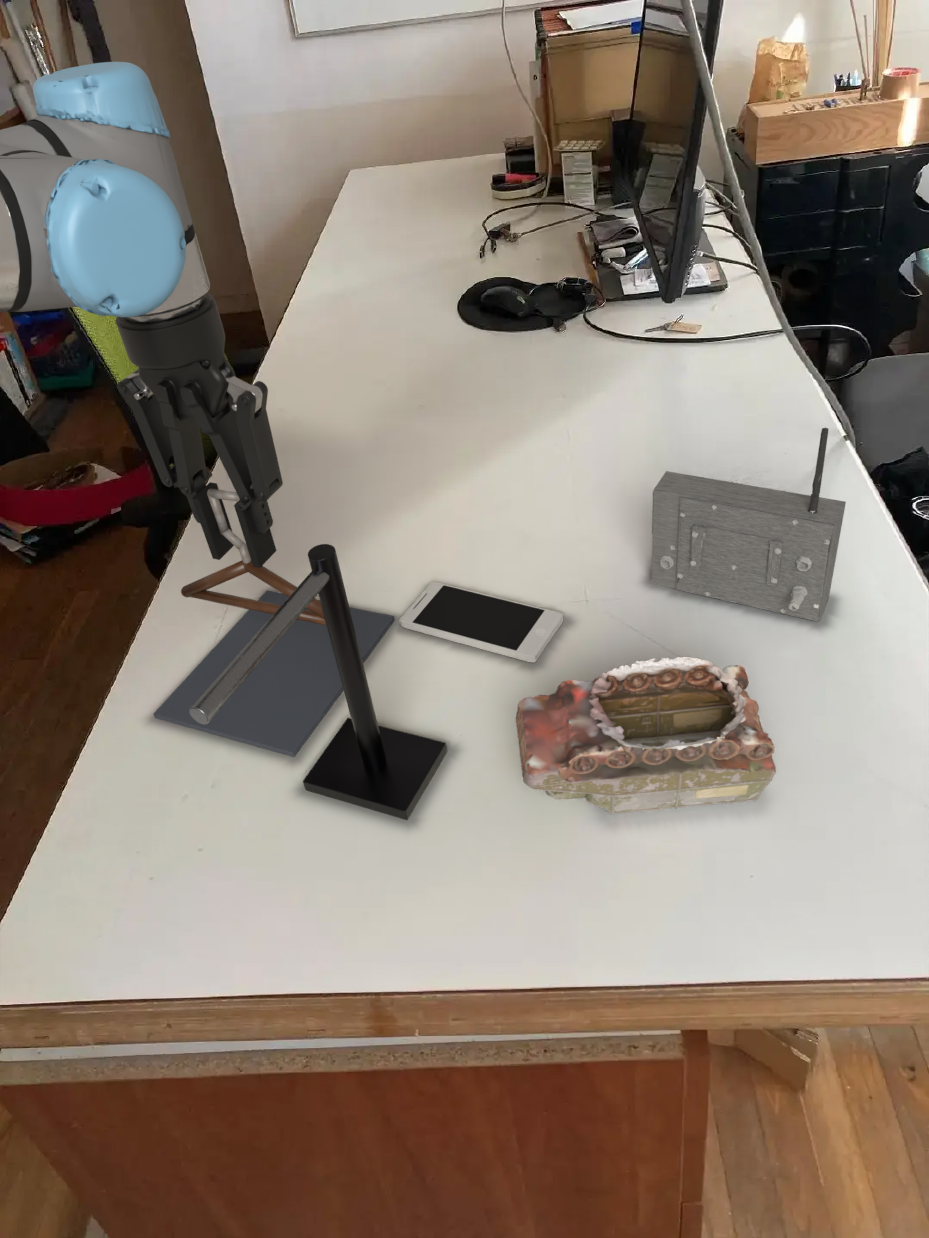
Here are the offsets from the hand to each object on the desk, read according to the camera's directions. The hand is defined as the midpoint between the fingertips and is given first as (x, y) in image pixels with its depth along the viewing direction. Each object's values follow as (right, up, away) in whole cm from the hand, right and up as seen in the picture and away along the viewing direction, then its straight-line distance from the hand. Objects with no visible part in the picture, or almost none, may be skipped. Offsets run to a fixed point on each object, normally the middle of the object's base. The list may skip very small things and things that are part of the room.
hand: (244, 554), depth 85 cm
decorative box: (+35, -21, -9) cm, 41 cm away
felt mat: (+2, -11, +9) cm, 14 cm away
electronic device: (+47, -4, +9) cm, 48 cm away
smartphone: (+22, -6, +11) cm, 25 cm away
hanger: (+1, -5, +4) cm, 7 cm away
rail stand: (+10, -23, -7) cm, 26 cm away
